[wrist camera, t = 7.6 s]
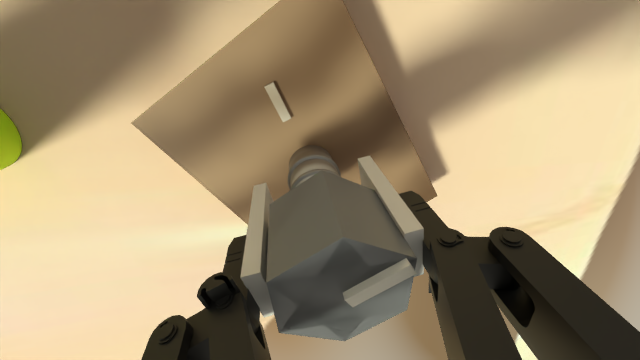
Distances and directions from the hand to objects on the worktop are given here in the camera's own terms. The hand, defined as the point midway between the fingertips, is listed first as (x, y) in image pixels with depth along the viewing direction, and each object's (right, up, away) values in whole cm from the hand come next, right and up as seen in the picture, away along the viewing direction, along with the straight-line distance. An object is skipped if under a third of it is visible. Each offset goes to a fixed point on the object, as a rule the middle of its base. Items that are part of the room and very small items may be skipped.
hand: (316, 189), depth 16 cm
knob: (0, -1, -3) cm, 3 cm away
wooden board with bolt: (-1, +3, +4) cm, 5 cm away
